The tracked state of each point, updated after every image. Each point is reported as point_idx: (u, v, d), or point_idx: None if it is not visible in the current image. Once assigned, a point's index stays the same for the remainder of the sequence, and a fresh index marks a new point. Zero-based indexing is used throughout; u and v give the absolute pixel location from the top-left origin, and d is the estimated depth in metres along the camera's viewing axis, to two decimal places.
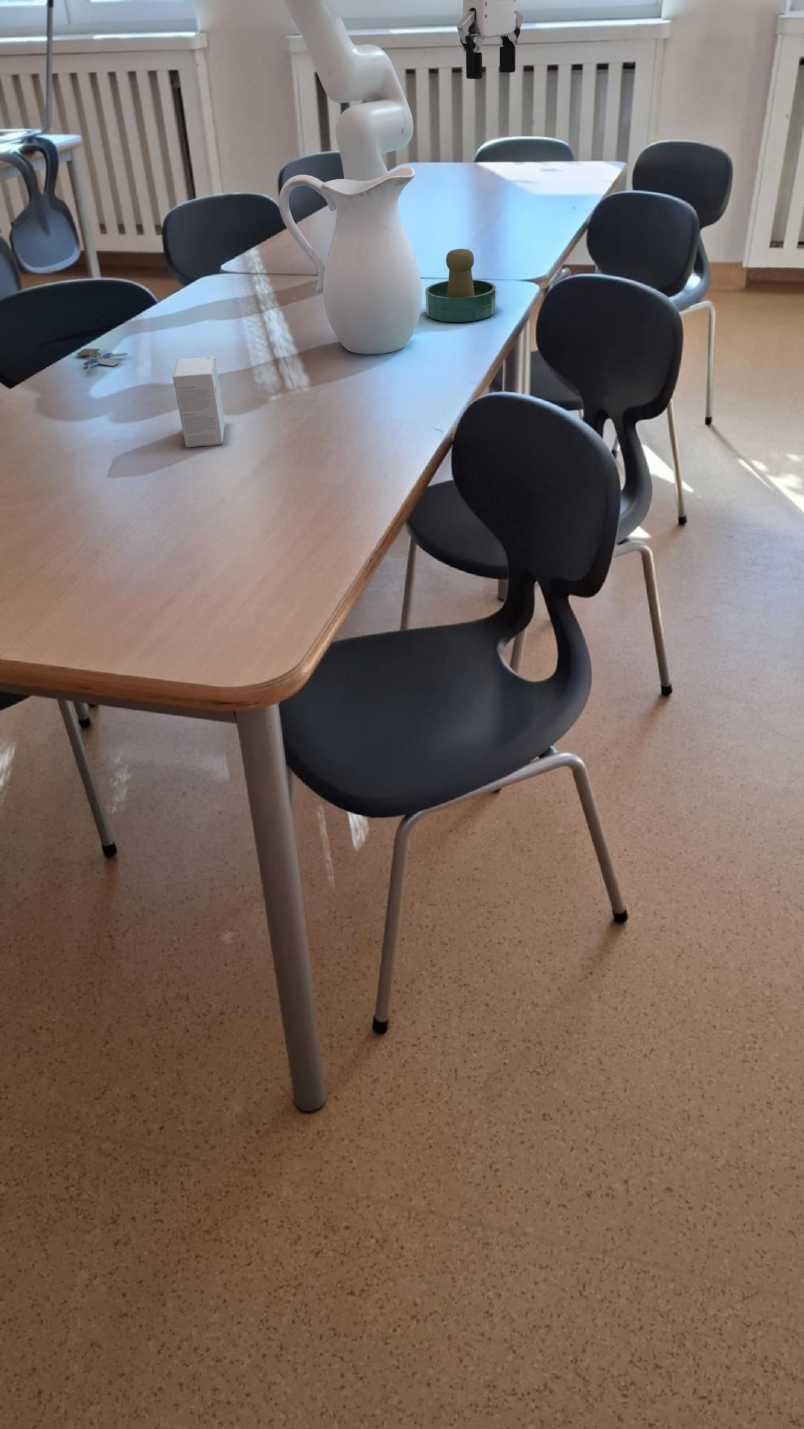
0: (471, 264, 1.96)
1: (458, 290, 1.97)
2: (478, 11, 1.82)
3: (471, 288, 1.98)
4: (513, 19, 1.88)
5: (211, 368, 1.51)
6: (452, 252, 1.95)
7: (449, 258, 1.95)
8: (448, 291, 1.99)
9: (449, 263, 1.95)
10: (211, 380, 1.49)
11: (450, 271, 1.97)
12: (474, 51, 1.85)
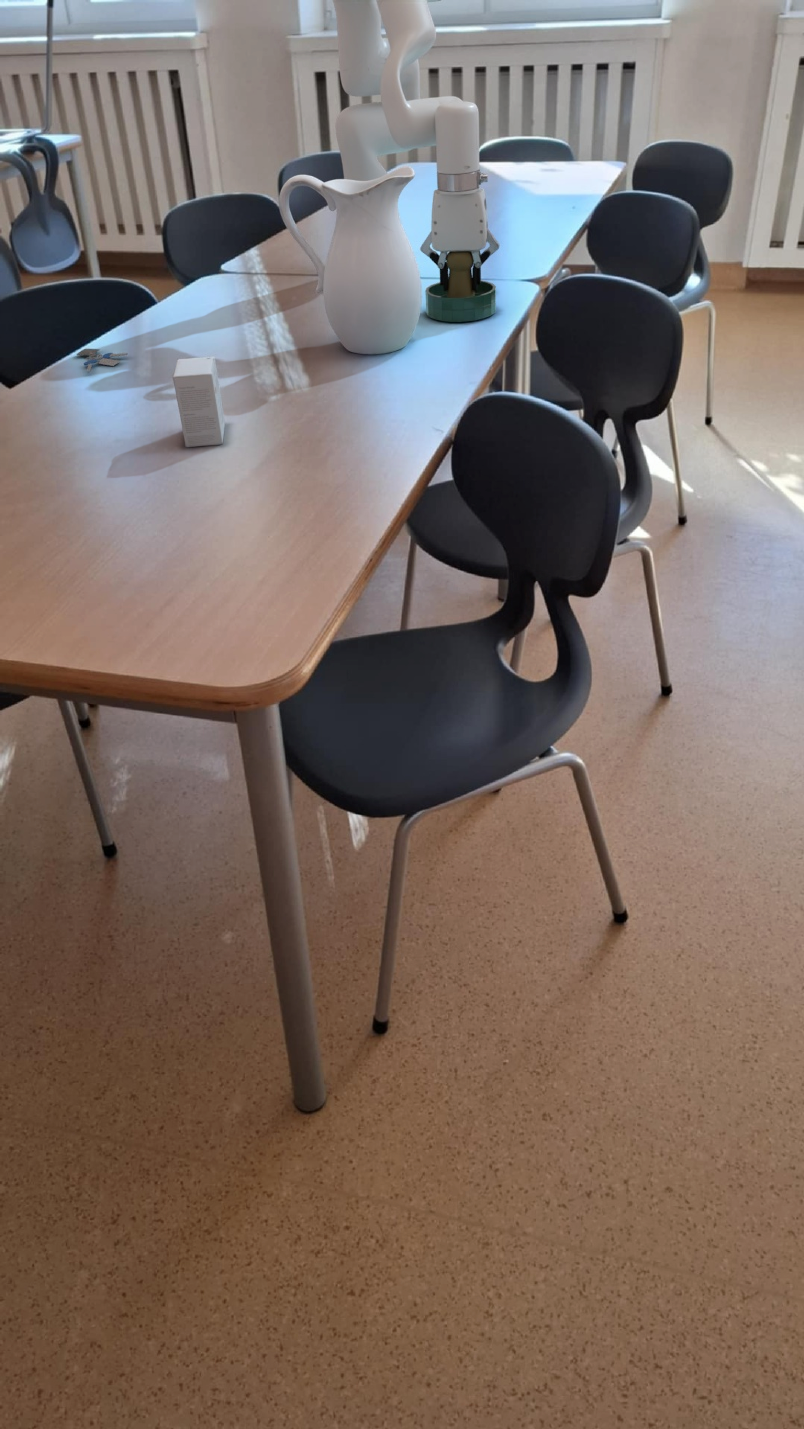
0: (471, 264, 1.96)
1: (458, 290, 1.97)
2: (431, 227, 1.93)
3: (471, 288, 1.98)
4: (479, 238, 1.92)
5: (211, 368, 1.51)
6: (452, 252, 1.95)
7: (449, 258, 1.95)
8: (448, 291, 1.99)
9: (449, 263, 1.95)
10: (211, 380, 1.49)
11: (450, 271, 1.97)
12: None
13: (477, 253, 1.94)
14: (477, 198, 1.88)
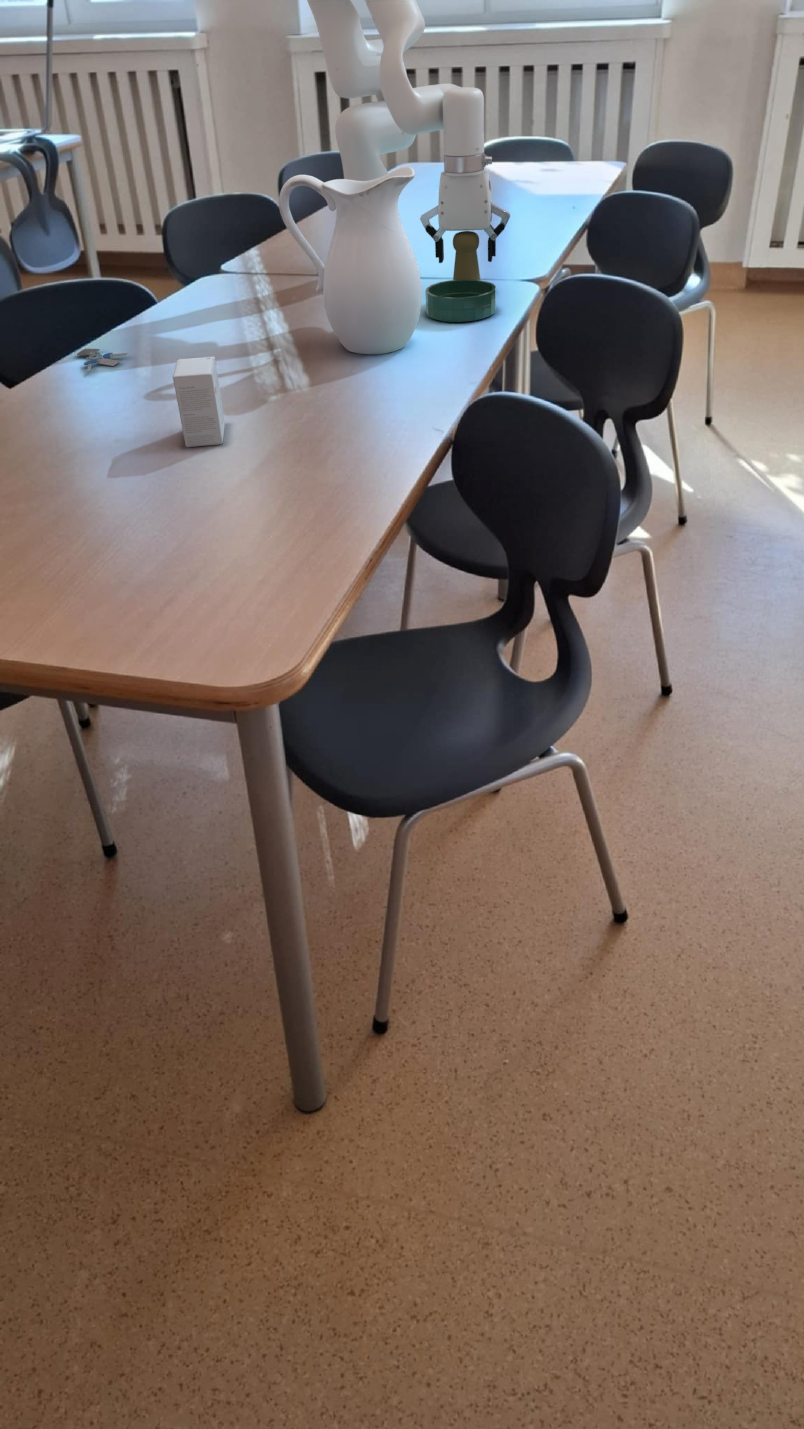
0: (476, 245, 2.06)
1: (464, 270, 2.08)
2: (438, 207, 2.03)
3: (476, 268, 2.09)
4: (484, 217, 2.02)
5: (211, 368, 1.51)
6: (458, 234, 2.06)
7: (456, 239, 2.05)
8: (454, 271, 2.10)
9: (455, 244, 2.06)
10: (211, 380, 1.49)
11: (456, 252, 2.07)
12: (434, 239, 2.07)
13: (488, 227, 2.04)
14: (481, 180, 1.98)
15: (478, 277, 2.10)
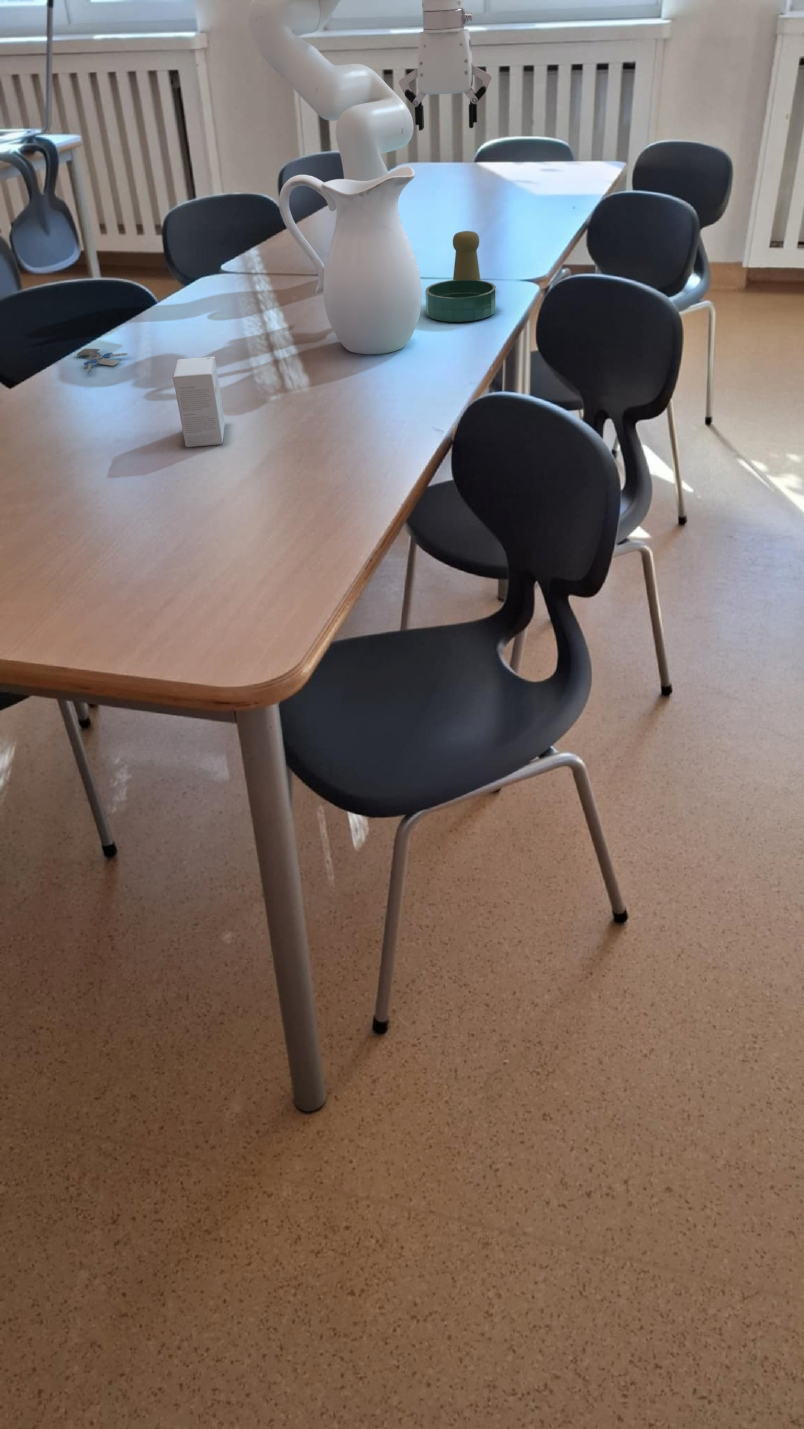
0: (476, 245, 2.06)
1: (464, 270, 2.08)
2: (417, 69, 1.97)
3: (476, 268, 2.09)
4: (464, 79, 1.96)
5: (211, 368, 1.51)
6: (458, 234, 2.06)
7: (456, 239, 2.05)
8: (454, 271, 2.10)
9: (455, 244, 2.06)
10: (211, 380, 1.49)
11: (456, 252, 2.07)
12: None
13: (469, 90, 1.98)
14: (461, 37, 1.93)
15: (478, 277, 2.10)
